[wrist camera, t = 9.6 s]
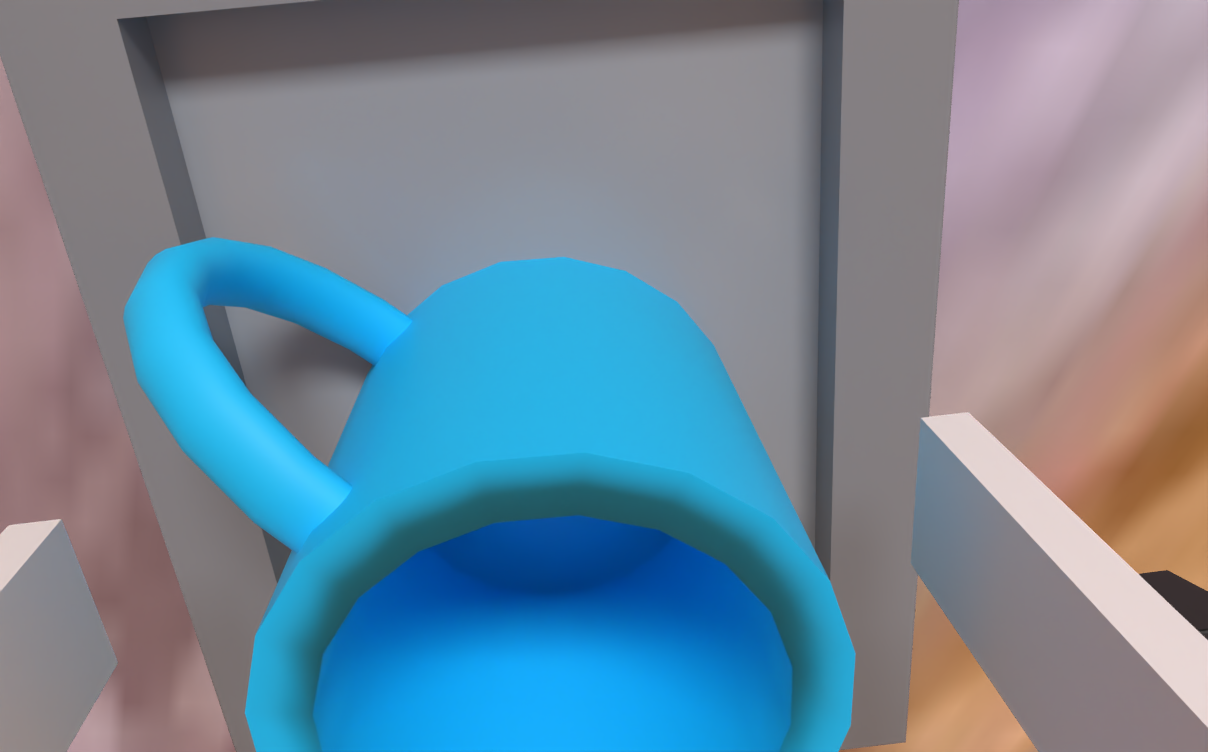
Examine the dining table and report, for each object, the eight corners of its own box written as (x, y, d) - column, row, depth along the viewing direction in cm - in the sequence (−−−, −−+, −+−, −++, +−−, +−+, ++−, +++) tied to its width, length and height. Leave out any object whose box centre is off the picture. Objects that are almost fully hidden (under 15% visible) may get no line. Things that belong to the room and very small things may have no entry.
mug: (810, 415, 20) (977, 677, 12) (569, 646, 22) (587, 991, 14) (357, 30, 16) (200, 71, 9) (118, 355, 18) (-175, 617, 11)
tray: (286, 734, 24) (258, 819, 22) (34, -96, 16) (-56, -110, 14) (868, 666, 25) (905, 742, 22) (908, -173, 17) (973, -199, 14)
